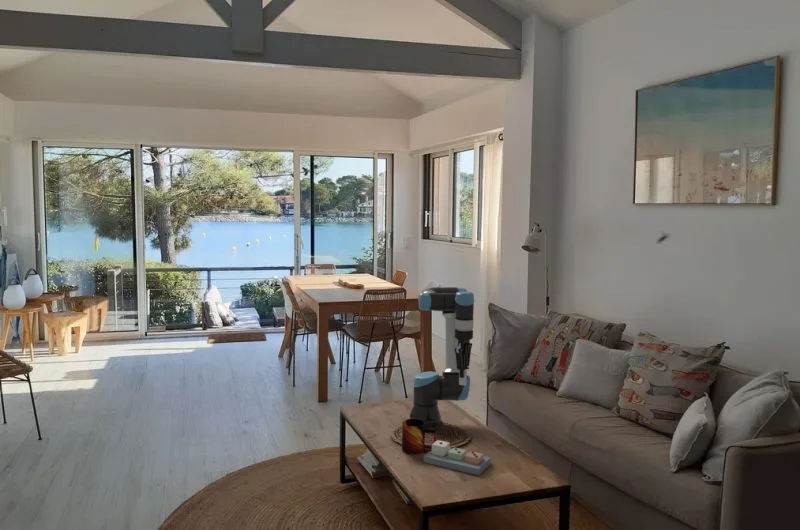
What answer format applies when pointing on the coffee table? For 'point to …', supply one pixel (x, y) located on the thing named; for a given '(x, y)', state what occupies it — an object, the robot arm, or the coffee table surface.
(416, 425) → the mug
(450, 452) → the key two
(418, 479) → the coffee table surface
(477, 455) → the key three
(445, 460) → the keypad board
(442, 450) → the key one
